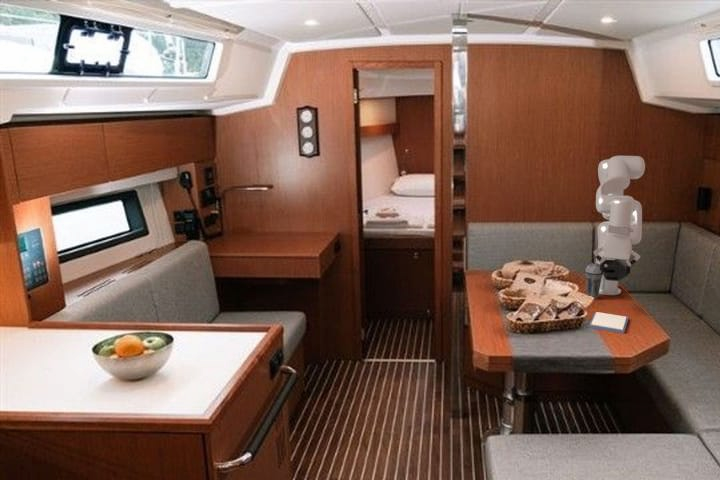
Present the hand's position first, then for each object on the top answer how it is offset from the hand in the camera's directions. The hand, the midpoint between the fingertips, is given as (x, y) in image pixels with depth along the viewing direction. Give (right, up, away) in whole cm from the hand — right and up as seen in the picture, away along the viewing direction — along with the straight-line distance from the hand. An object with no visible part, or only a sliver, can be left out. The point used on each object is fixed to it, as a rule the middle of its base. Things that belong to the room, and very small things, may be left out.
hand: (614, 273), depth 228 cm
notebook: (-6, -18, -8) cm, 21 cm away
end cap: (0, -2, +1) cm, 2 cm away
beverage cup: (0, -12, +22) cm, 25 cm away
